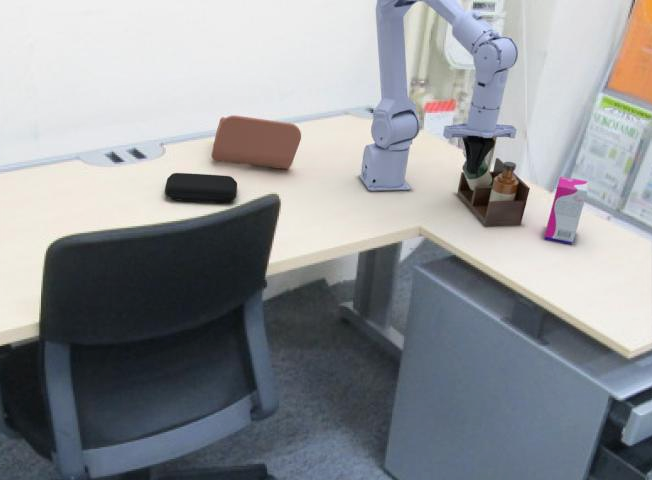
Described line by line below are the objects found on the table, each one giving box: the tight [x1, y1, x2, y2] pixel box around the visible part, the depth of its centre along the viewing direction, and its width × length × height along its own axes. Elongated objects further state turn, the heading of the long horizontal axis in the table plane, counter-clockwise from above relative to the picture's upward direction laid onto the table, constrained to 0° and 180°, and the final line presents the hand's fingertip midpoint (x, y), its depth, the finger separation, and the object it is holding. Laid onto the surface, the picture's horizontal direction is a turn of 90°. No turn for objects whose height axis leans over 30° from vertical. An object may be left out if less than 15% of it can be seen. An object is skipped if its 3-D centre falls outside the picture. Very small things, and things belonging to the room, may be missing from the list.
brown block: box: [211, 115, 302, 170], centre depth 200 cm, size 16×17×15 cm
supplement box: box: [543, 176, 589, 245], centre depth 178 cm, size 6×6×12 cm
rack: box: [456, 157, 531, 227], centre depth 187 cm, size 8×16×8 cm, turn 12°
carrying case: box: [164, 172, 238, 204], centre depth 185 cm, size 11×3×15 cm
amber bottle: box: [487, 161, 519, 208], centre depth 183 cm, size 5×5×10 cm
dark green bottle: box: [462, 149, 493, 195], centre depth 188 cm, size 5×5×10 cm
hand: (471, 172), depth 179 cm, fingers closed
